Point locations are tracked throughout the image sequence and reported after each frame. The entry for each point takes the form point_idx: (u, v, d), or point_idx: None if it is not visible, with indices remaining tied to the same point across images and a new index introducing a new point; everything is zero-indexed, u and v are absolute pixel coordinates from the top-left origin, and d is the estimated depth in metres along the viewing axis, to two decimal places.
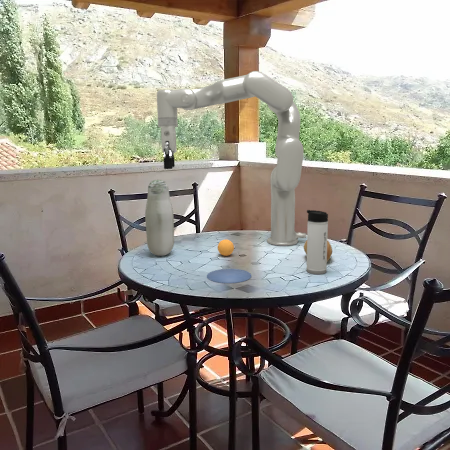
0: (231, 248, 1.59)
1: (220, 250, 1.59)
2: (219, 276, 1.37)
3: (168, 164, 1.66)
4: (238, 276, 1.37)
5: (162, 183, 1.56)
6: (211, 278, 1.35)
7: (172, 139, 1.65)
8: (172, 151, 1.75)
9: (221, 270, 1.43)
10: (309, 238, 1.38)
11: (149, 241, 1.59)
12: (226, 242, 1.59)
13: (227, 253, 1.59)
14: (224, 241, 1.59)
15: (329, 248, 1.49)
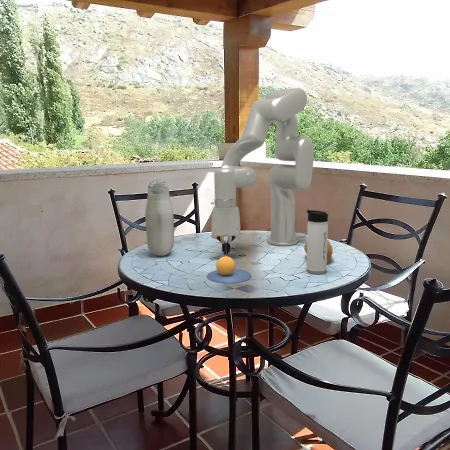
0: (232, 272, 1.38)
1: None
2: (219, 276, 1.37)
3: (222, 249, 1.58)
4: (238, 276, 1.37)
5: (162, 183, 1.56)
6: (211, 278, 1.35)
7: (212, 221, 1.54)
8: None
9: None
10: (309, 238, 1.38)
11: (149, 241, 1.59)
12: (226, 270, 1.36)
13: None
14: (224, 268, 1.36)
15: (329, 248, 1.49)
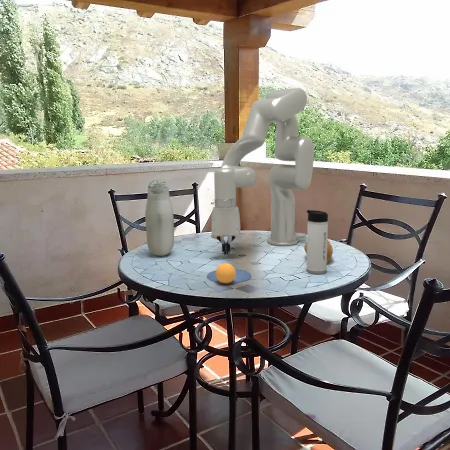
0: None
1: None
2: None
3: (222, 249, 1.58)
4: (238, 276, 1.37)
5: (162, 183, 1.56)
6: (211, 278, 1.35)
7: (212, 221, 1.54)
8: None
9: None
10: (309, 238, 1.38)
11: (149, 241, 1.59)
12: None
13: None
14: None
15: (329, 248, 1.49)
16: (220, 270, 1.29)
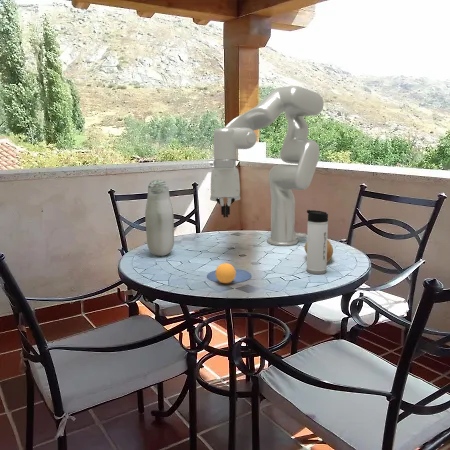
0: None
1: None
2: None
3: (221, 212, 1.55)
4: (238, 276, 1.37)
5: (162, 183, 1.56)
6: (211, 278, 1.35)
7: (211, 183, 1.51)
8: None
9: None
10: (309, 238, 1.38)
11: (149, 241, 1.59)
12: None
13: None
14: None
15: (330, 248, 1.49)
16: (220, 270, 1.29)
